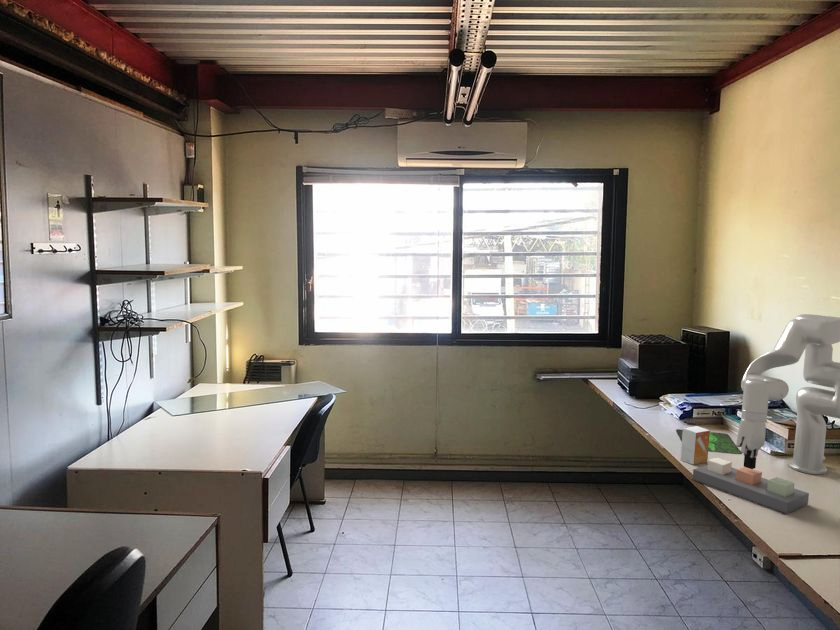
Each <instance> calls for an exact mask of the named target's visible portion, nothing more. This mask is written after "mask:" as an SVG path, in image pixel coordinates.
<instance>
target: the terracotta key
mask: <svg viewBox="0 0 840 630" xmlns="http://www.w3.org/2000/svg"><path fill="white" fill-rule="evenodd" d="M762 475H763V471H760V470H758V469H757V470H756V469H755V468H754V469H750V468H747V467H744V466H743V467H740V468H738V470H737V473H736V480H738V481H741V482H743V483H746V484H749V485H752V486H753V485H756V484H758V483H761V477H762ZM762 478H763V477H762Z"/></svg>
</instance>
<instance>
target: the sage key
mask: <svg viewBox="0 0 840 630" xmlns="http://www.w3.org/2000/svg"><path fill="white" fill-rule="evenodd" d="M794 488H795V482H793V481H790V480H788V479H784V478H782V477H778V476H775V477H773V478H770V479H768V487H767V491H769V492H772V493H775V494H778V495H781V496H784V497H787V496H790V495H792V494H794Z"/></svg>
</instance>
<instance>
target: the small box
mask: <svg viewBox="0 0 840 630" xmlns="http://www.w3.org/2000/svg"><path fill="white" fill-rule="evenodd" d="M682 430H683V434H682V441H681V449H680V458H679V459H680V461H683V462H685V463H687V464H690V465H693V466H695V465H698V464H704V463H705V464H706V463H708V460H709V457H708V456H709V452H708V448H709V436H710V432H711V430H709V429H707V428H705V427H701V426H698V425H695V426H689V427H683V428H682Z"/></svg>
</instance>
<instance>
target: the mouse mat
mask: <svg viewBox="0 0 840 630" xmlns="http://www.w3.org/2000/svg"><path fill="white" fill-rule="evenodd" d="M675 432H676V434H677V436H678V437H679V440H680V441H681V442H682V434H683V429H679V428H677V429H675ZM709 452H710V453H721V454H730V455H742V454H743V453H741V449H739V447H737V445H736V443H735V442H734V441H733V439H732V438H731V436H730V435H729V434H728V433H723V432H714V431H710V436H709V448H708V453H709Z"/></svg>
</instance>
